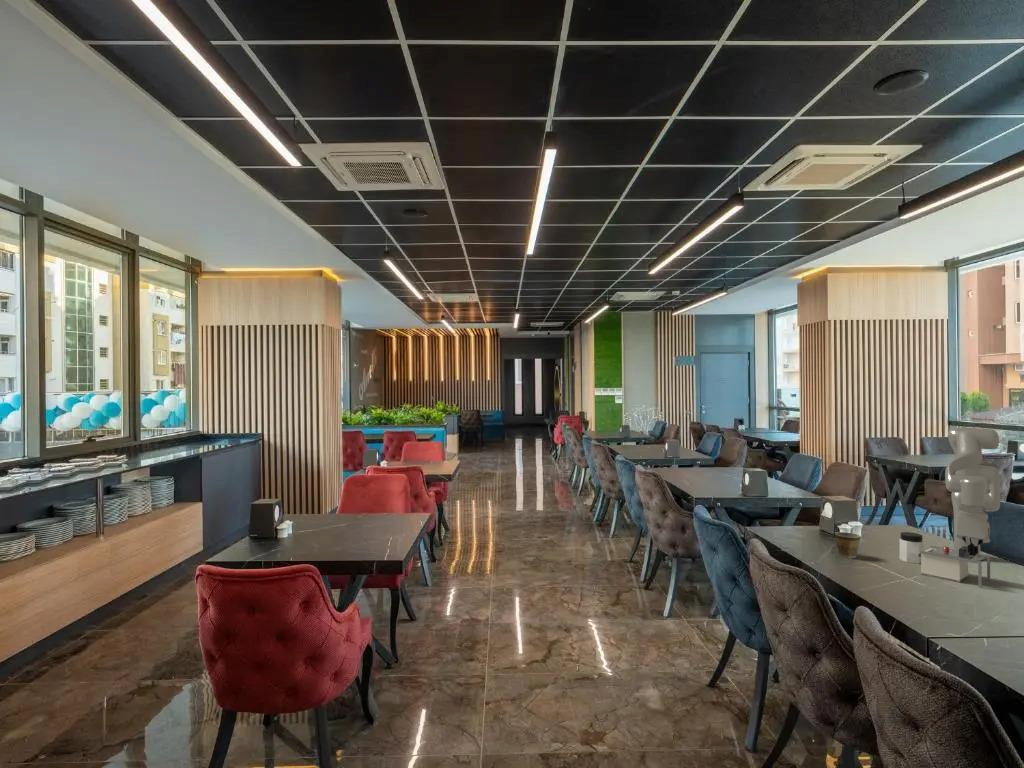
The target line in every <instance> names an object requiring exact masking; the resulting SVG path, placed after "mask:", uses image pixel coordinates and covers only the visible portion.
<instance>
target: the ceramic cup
mask: <svg viewBox="0 0 1024 768" xmlns="http://www.w3.org/2000/svg"><path fill="white" fill-rule="evenodd" d="M834 534H835V541H836V545H837V551H838V555H839V557H841V558H845V559H856V558H857V556H858V555H857V554H858V550H859V544H860V540H861V535H860V534H857V533H852V532H846V531H844V532H843V531H841V532H835V533H834Z"/></svg>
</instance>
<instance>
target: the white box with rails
mask: <svg viewBox="0 0 1024 768" xmlns="http://www.w3.org/2000/svg"><path fill="white" fill-rule="evenodd" d="M939 548H943V546H942V547H941V546H936V545H930V548H928V549H926V550H923V551H920V553H919V554H918V557H921V563H920V565H921V566H920V572H921V576H925V577H930V578H934V577H935V579H939V578H940V579H939V580H944V581H950V582H954V583H961V582H963V581H965V580H966V579H967V578H969V563H971V564H977V565H978V566H977V569H978V570H977V571H978V575H977V576H978V586H977V587H978V588H979V589H980V588H983V587H982V585H983V584H982V583H983V582H982V581H983V580H982V570H983V569H982V567H983V566H982V560H981V561H975V560H970V559H964V558H959V557H953V556H948V555H942V554H937V553H932V552H933V551H935V550H937V549H939ZM951 549H952V548H951ZM952 550H954V548H953V549H952ZM957 551H959V550H957ZM979 557H984V558H985V559H986V574H987V576H986V577H987V579H986V580H987V582H991V555H987V554H981V553H980V554H979Z"/></svg>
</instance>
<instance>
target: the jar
mask: <svg viewBox="0 0 1024 768" xmlns="http://www.w3.org/2000/svg"><path fill="white" fill-rule="evenodd" d="M920 551H924V541H923V535H922V534H920V533H916V532H909V531H902V532H900V538H899V561H903V562H905V563H908V562H909V563H908V564H917V565H920V564H921V557H918V554H919V553H920Z"/></svg>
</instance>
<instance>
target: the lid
mask: <svg viewBox="0 0 1024 768" xmlns="http://www.w3.org/2000/svg"><path fill="white" fill-rule="evenodd" d="M932 553H937V554H942V555H948V556H953V557H959V558H964V559H970V560H974V559H976V558H978V557H979V554H976V556H973V555H969V552H968V547H967V546H963V547H961V548H959V551H957V550H952V548H950V547H949V546H942V548H939V549H937V550H935V551H933V552H932Z"/></svg>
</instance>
